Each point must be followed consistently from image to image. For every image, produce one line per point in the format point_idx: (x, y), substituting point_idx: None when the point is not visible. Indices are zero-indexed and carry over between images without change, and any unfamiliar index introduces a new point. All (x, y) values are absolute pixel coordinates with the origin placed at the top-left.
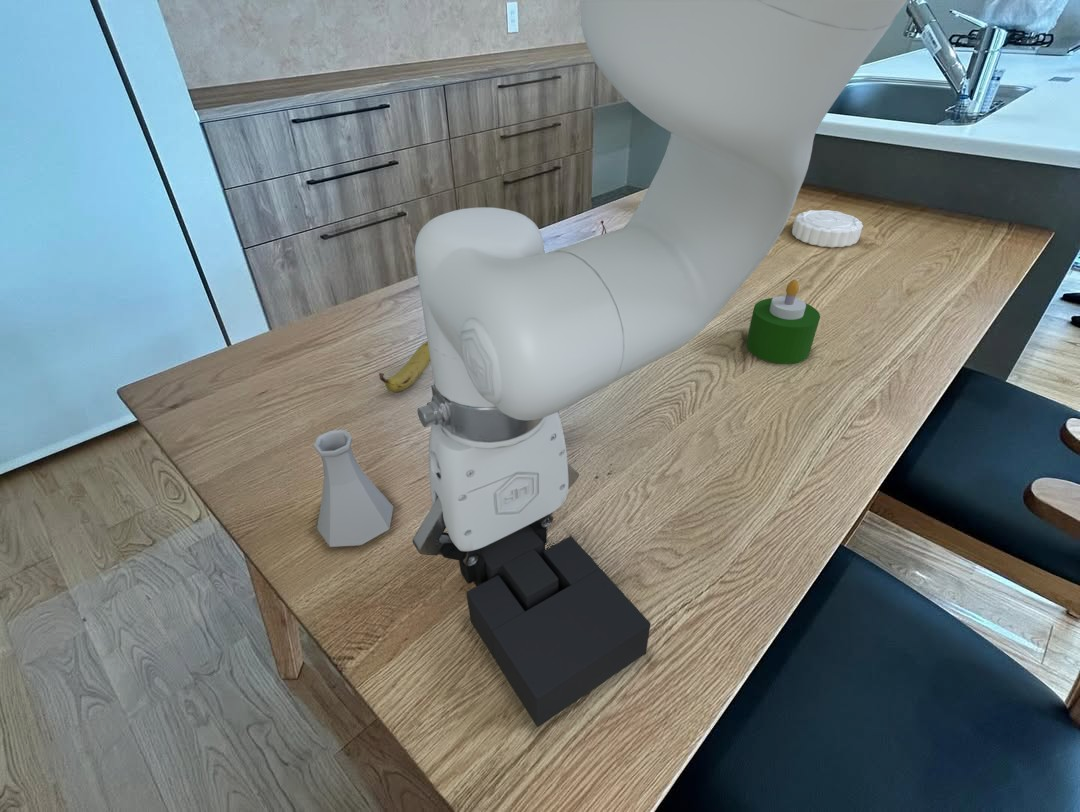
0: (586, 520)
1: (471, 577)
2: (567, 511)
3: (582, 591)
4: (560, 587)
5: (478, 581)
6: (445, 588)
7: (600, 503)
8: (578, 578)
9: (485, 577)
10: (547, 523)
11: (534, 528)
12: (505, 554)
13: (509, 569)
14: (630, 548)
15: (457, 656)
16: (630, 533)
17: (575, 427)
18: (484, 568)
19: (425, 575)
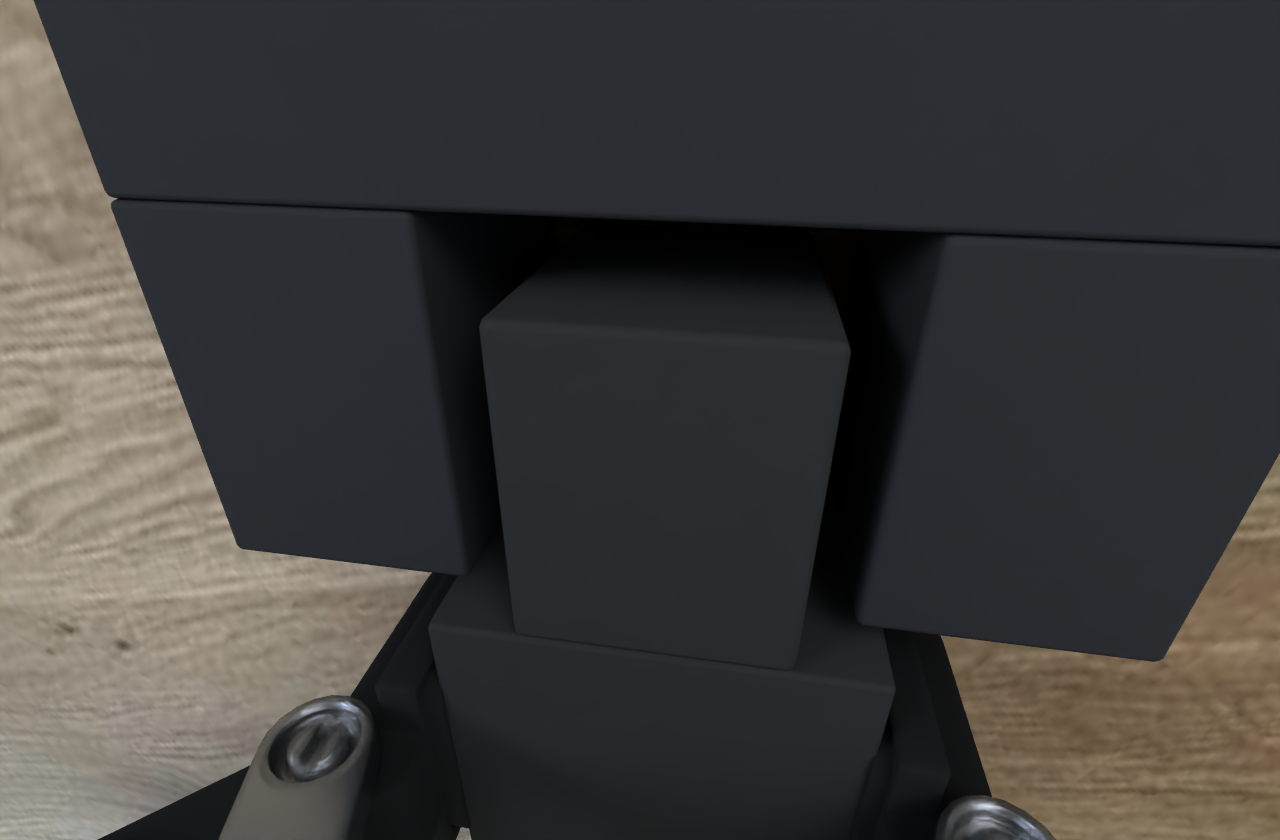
0: None
1: (932, 666)
2: (293, 606)
3: (342, 73)
4: None
5: None
6: (970, 644)
7: (146, 555)
8: (322, 226)
9: None
10: (329, 717)
11: (432, 728)
12: (720, 715)
13: (777, 620)
14: (83, 297)
15: None
16: (59, 364)
17: (133, 811)
18: (893, 705)
19: (989, 730)
